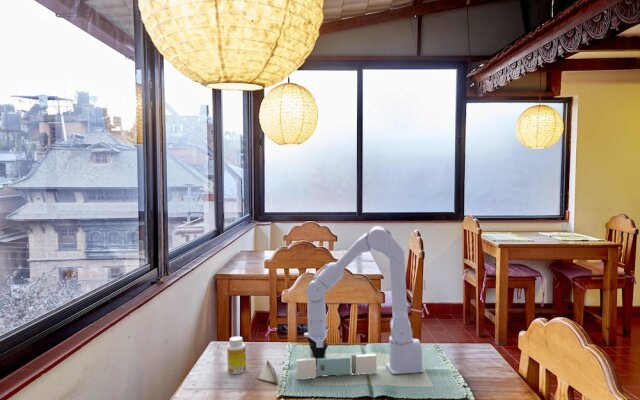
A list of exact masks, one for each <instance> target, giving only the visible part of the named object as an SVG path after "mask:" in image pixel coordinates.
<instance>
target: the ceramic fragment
mask: <svg viewBox="0 0 640 400" xmlns="http://www.w3.org/2000/svg"><path fill="white" fill-rule="evenodd" d="M257 380H259V381H262V382H267V383H271V384H274V385H276V386H279V381H278V378H277V373H276V371H275V368H274V366H273V365H272V363H271V362H270V360H266V364H265V366H263V369H262V371H261V373H260V374H259V376H258V377H257Z"/></svg>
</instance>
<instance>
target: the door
mask: <svg viewBox="0 0 640 400" xmlns="http://www.w3.org/2000/svg"><path fill="white" fill-rule="evenodd" d="M350 356H351V355H350ZM350 356H337V357H335V356H334V357H326V358H319V359H317V370H316V377H318V376H322V377H324V376H323V375H336V376H338V375H337V374H349V375H352V364H351V357H350Z"/></svg>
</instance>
